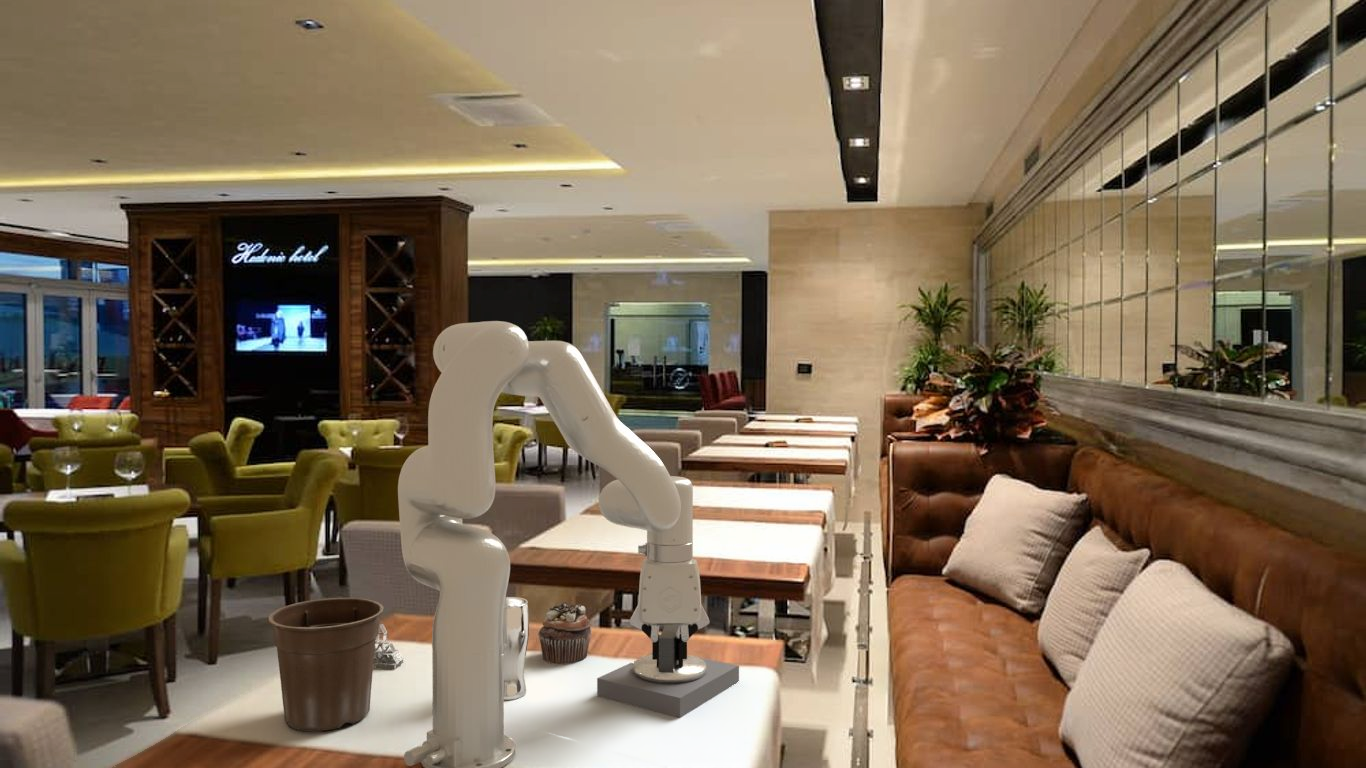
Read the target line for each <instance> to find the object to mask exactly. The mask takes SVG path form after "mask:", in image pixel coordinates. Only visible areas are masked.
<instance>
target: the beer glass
mask: <svg viewBox="0 0 1366 768" xmlns="http://www.w3.org/2000/svg"><path fill="white" fill-rule="evenodd" d="M528 603H529V602H528V600H527V599H526V598H523V597H517V596H506V598H505V606H504V630H503V642H504V701H511V700H517V699H519V698H522V697H524V696H525V695H526V694H527V687H526V681H525V680H526V679H525V663H526V662H525V661H526V656H527V650H528V644H529V636H530V618H529V617H530V616H529V607H528Z"/></svg>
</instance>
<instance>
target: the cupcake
mask: <svg viewBox="0 0 1366 768" xmlns="http://www.w3.org/2000/svg"><path fill="white" fill-rule="evenodd" d="M545 616H546V617H545V619H544V620H543V622H542V627H541V628H540V629H539V631H538V632H537V633H538V634H537V635H538V638H539V639H538V640H539V643H540V649H541V654H542V659H543V661H545V662H547V663H551V664H558V665H563V664H564V665H567V664H575V663H578V662H582V661H584V659H586V658H587V657H588V652H589V646H590V640H591V636H592V629H591V622H590V621H591V620H590V619H589V618H588V617H587V614H586V607H585V606H584V605H581V604H571V605H570V606H568V603H567V602H565V601H564V602H562V603H561V604H560V605H554V606H553V607H549V611H547V612H546V613H545Z"/></svg>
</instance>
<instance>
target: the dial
mask: <svg viewBox="0 0 1366 768" xmlns="http://www.w3.org/2000/svg"><path fill="white" fill-rule="evenodd" d="M680 634H681V627H680V624H677V625H664V627H663V629H662V631H661V633H660V634H659V635H660V637H659V666H657V660H652V655H649V654H647V655H648V656H647V655H644V656H641V657H639V658H637V659H636V660H634V661H635V662H634V661H633V662H634V663H633V673H634V674H635V675H636V676H637V677H639V678H641V679H643V680H647V681H651V682H658V683H681V682H688V681H692V680H695V679H698V678H700V677H702V676H703V675H704V674H705V673H706V663H705V661H704V660H702V659H700V658H701V657H700V658H698V657H699V656H696V655H692V654H688V653H687V659H683V666H680V665H678V638H679V635H680Z"/></svg>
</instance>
